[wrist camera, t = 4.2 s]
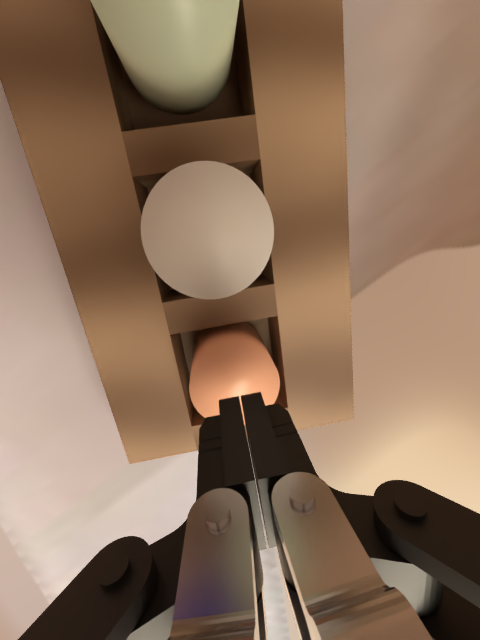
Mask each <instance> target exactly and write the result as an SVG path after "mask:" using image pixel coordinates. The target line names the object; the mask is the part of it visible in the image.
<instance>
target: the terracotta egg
mask: <svg viewBox="0 0 480 640" xmlns="http://www.w3.org/2000/svg"><path fill="white" fill-rule="evenodd" d="M279 388H280V378H279V373H278V371H277V368H276V366H275V364H274V362H273V360H272V358H271V356H270V355H269V353H268V351H267V349H266V347H265V345H264V343H263V341H262V339H261V337H260V335H259V333H258V332H257V331H256V329H255V328H254V327H253V326H251V325H250V324H249V323H247V322H240V323H234V324H228V325H223V326H217V327H211V328H205V329H203V330H202V331H201V332H200V333H199V335H198V336H197V339H196V341H195V344H194V350H193V358H192V367H191V375H190V383H189V393H190V398H191V401H192V403H193V405H194V407H195V408H196V410H197V411H198V412H199V413H200V414H201V415H202V416H203V417H204V418H206V417H211V416H216V415H220V413H219V400H220V399H226V398H231V397H236V396H239V400H240V405H241V410H242V415H243V420H244V425H245V419H244V413H243V407H242V402H241V395H246V394H251V393H256V392H261V394H262V397H263V400H264V403H265V406H267V405H272V404H274V403H275V401H276V399H277V396H278V393H279Z"/></svg>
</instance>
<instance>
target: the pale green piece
mask: <svg viewBox="0 0 480 640" xmlns="http://www.w3.org/2000/svg"><path fill="white" fill-rule="evenodd" d="M90 1H91V3H92V5H93V7H94V9H95V11H96V13H97V15H98V17H99V19H100V21H101V23H102V25H103V27H104V29H105V31H106V33H107V34H108V36H109V38H110V40H111V42H112V44H113V46H114V48H115V50H116V52H117V54H118V56H119V58H120V60H121V62H122V64H123V66H124V68H125V70H126V72H127V74H128V76H129V78H130V80H131V82H132V84H133V85H134V87H135V88H136V90H137V91H138V92H139V93H140V94H141V96H142V97H143V98H144V99H146V100H147V101H148V102H149V103H150V104H152V105H153V106H154V107H156V108H158V109H160V110H162V111H164V112H167V113H170V114H174V115H189V114H194V113H197V112H200V111H202V110H204V109H205V108H207V107H208V106H210V105H211V104H212V103H213V102H214V101H215V100H216V99H217V98H218V96H219V95H220V94H221V92H222V90H223V89H224V87H225V85H226V82H227V79H228V76H229V72H230V66H231V59H232V52H233V45H234V37H235V30H236V23H237V15H238V8H239V1H240V0H90Z"/></svg>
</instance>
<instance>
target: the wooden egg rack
mask: <svg viewBox="0 0 480 640" xmlns="http://www.w3.org/2000/svg"><path fill="white" fill-rule="evenodd" d="M0 79H1V82H2V85H3V88H4V91H5V94H6V97H7V100H8V103H9V106H10V109H11V112H12V115H13V118H14V121H15V124H16V127H17V130H18V133H19V136H20V139H21V142H22V145H23V148H24V150H25V153H26V156H27V159H28V162H29V165H30V168H31V171H32V174H33V177H34V180H35V183H36V186H37V189H38V192H39V195H40V198H41V201H42V204H43V207H44V210H45V213H46V216H47V219H48V222H49V225H50V228H51V231H52V234H53V237H54V240H55V243H56V246H57V249H58V252H59V255H60V258H61V261H62V264H63V267H64V270H65V273H66V276H67V279H68V282H69V285H70V288H71V291H72V294H73V297H74V300H75V303H76V306H77V309H78V312H79V315H80V318H81V321H82V324H83V327H84V330H85V333H86V336H87V339H88V342H89V344H90V347H91V350H92V353H93V356H94V359H95V362H96V365H97V368H98V371H99V374H100V377H101V380H102V383H103V386H104V389H105V392H106V395H107V398H108V401H109V404H110V407H111V410H112V413H113V416H114V419H115V422H116V425H117V428H118V431H119V434H120V437H121V440H122V443H123V446H124V449H125V452H126V455H127V458H128V461H129V464H132V463H137V462H142V461H147V460H152V459H157V458H162V457H167V456H172V455H177V454H182V453H187V452H192V451H197V450H199V429H200V427H201V425H202V423H203V422H204V420H205V418H204V417H203V416H202V415H201V414H200V413H199V412H198V411H197V410H196V408H195V407H194V405H193V403H192V401H191V398H190V393H189V383H190V375H191V367H192V358H193V350H194V344H195V341H196V339H197V336H198V335H199V333H200V332H201V331H202V330H203V329H205V328H211V327H217V326H223V325H228V324H234V323H240V322H247V323H249V324H250V325H251V326H253V327H254V328H255V329H256V331H257V332H258V333H259V335H260V337H261V339H262V341H263V343H264V345H265V347H266V349H267V351H268V353H269V355H270V356H271V358H272V360H273V362H274V364H275V366H276V368H277V371H278V373H279V378H280V388H279V393H278V396H277V399H276V401H275V403H274V404H277V403H279V404H280V405H281V406H282V407H284V408H285V409H286V410H287V411H288V412H289V414H290V416H291V418H292V421H293V424H294V425H295V427H296V430H301V429H306V428H311V427H316V426H321V425H326V424H331V423H336V422H341V421H346V420H351V419H354V406H353V370H352V335H351V298H350V262H349V225H348V189H347V153H346V117H345V81H344V45H343V9H342V0H240V1H239V8H238V15H237V23H236V30H235V37H234V45H233V52H232V59H231V66H230V72H229V76H228V79H227V82H226V85H225V87H224V89H223V90H222V92H221V94H220V95H219V96H218V98H217V99H216V100H215V101H214V102H213V103H212V104H211V105H210V106H208V107H207V108H205V109H204V110H202V111H200V112H197V113H194V114H189V115H174V114H170V113H167V112H164V111H162V110H160V109H158V108H156V107H154V106H153V105H152V104H150V103H149V102H148V101H147V100H146V99H144V98H143V97H142V96H141V94H140V93H139V92H138V91H137V90H136V88H135V87H134V85H133V84H132V82H131V80H130V78H129V76H128V74H127V72H126V70H125V68H124V66H123V64H122V62H121V60H120V58H119V56H118V54H117V52H116V50H115V48H114V46H113V44H112V42H111V40H110V38H109V36H108V34H107V33H106V31H105V29H104V27H103V25H102V23H101V21H100V19H99V17H98V15H97V13H96V11H95V9H94V7H93V5H92V3H91V1H90V0H0ZM195 161H216V162H220V163H224V164H227V165H229V166H232V167H234V168H236V169H238V170H240V171H241V172H243V173H244V174H245V175H247V176H248V177H249V178H250V179H251V180H252V181H253V182H254V183H255V184H256V185H257V186H258V187H259V189H260V190H261V191H262V193H263V195H264V196H265V198H266V200H267V202H268V205H269V207H270V210H271V213H272V217H273V223H274V241H273V247H272V251H271V254H270V257H269V260H268V262H267V264H266V266H265V268H264V269H263V271H262V272H261V274H260V275H259V276H258V277H257V279H256V280H255V281H254V282H253V283H252V284H250V285H249V286H248V287H247V288H245V289H244V290H242V291H240V292H238V293H236V294H234V295H231V296H229V297H225V298H221V299H199V298H194V297H190V296H187V295H185V294H182V293H180V292H178V291H177V290H175V289H173V288H172V287H170V286H169V285H168V284H167V283H165V282H164V281H163V280H162V279H161V278H160V277H159V276H158V274H157V273H156V272H155V271H154V269H153V268H152V266H151V264H150V263H149V261H148V258H147V256H146V254H145V251H144V248H143V244H142V238H141V217H142V212H143V208H144V205H145V202H146V200H147V198H148V196H149V194H150V192H151V190H152V189H153V188H154V186H155V185H156V183H157V182H158V181H159V180H160V179H161V178H162V177H163V176H165V175H166V174H167V173H168V172H170V171H171V170H173V169H175V168H177V167H179V166H181V165H184V164H186V163H190V162H195ZM244 426H245V431H246V425H244ZM246 436H247V431H246ZM247 440H248V437H247Z"/></svg>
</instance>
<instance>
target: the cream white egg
mask: <svg viewBox="0 0 480 640" xmlns="http://www.w3.org/2000/svg"><path fill="white" fill-rule="evenodd" d="M141 238H142V244H143V248H144V251H145V254H146V256H147V258H148V261H149V263H150V264H151V266H152V268H153V269H154V271H155V272H156V273H157V274H158V276H159V277H160V278H161V279H162V280H163V281H164V282H165V283H167V284H168V285H169V286H170V287H172V288H173V289H175V290H177V291H178V292H180V293H182V294H185V295H187V296H190V297H194V298H199V299H221V298H225V297H229V296H231V295H234V294H236V293H238V292H240V291H242V290H244V289H245V288H247V287H248V286H249V285H250V284H252V283H253V282H254V281H255V280H256V279H257V277H258V276H259V275H260V274H261V272H262V271H263V269H264V268H265V266H266V264H267V262H268V260H269V257H270V254H271V251H272V247H273V241H274V223H273V217H272V213H271V210H270V207H269V205H268V202H267V200H266V198H265V196H264V195H263V193H262V191H261V190H260V189H259V187H258V186H257V185H256V184H255V183H254V182H253V181H252V180H251V179H250V178H249V177H248V176H247V175H245V174H244V173H243V172H241V171H240V170H238V169H236V168H234V167H232V166H229V165H227V164H224V163H220V162H216V161H195V162H190V163H186V164H184V165H181V166H179V167H177V168H175V169H173V170H171V171H170V172H168V173H167V174H166V175H165V176H163V177H162V178H161V179H160V180H159V181H158V182H157V183H156V185H155V186H154V188H153V189H152V190H151V192H150V194H149V196H148V198H147V200H146V202H145V205H144V208H143V212H142V217H141Z"/></svg>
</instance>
